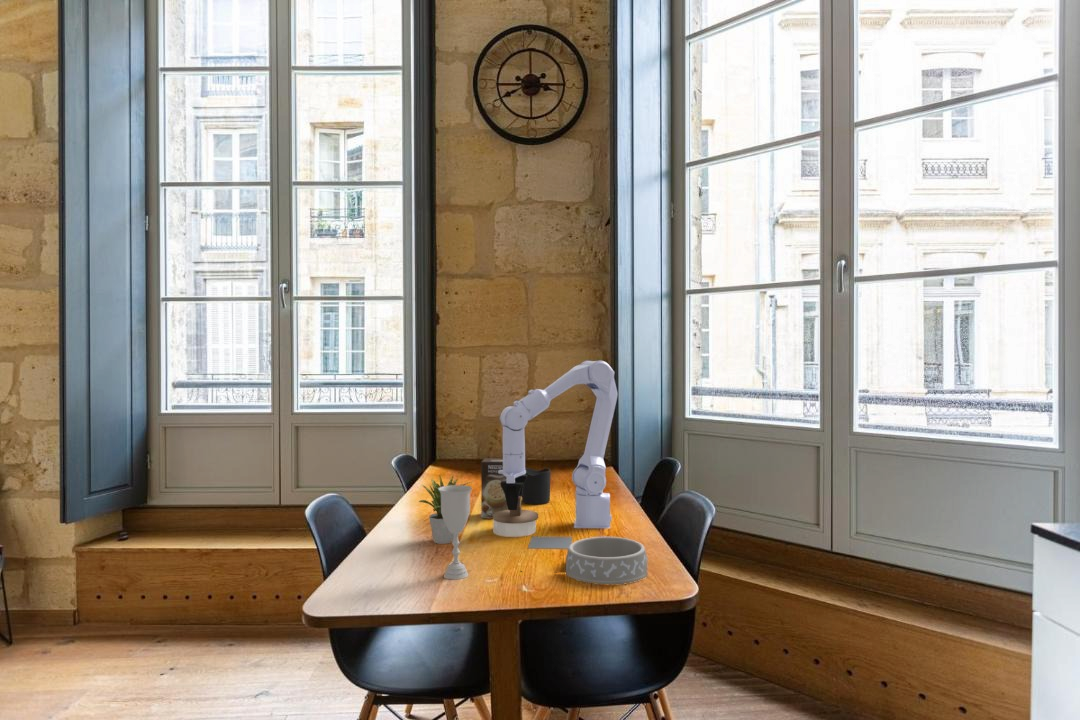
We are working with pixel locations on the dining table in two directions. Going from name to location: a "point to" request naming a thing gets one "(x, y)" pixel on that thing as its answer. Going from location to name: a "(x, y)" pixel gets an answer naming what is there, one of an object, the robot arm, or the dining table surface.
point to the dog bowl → (606, 560)
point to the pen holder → (536, 487)
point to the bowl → (514, 529)
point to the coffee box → (492, 488)
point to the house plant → (439, 514)
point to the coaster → (550, 542)
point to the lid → (515, 515)
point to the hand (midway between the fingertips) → (514, 506)
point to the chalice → (455, 522)
